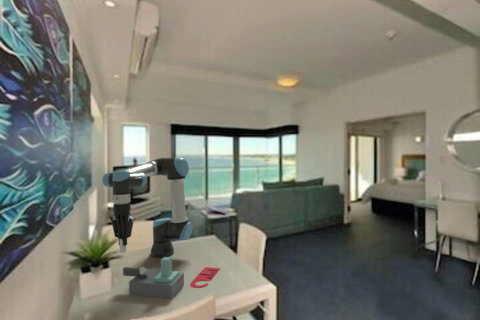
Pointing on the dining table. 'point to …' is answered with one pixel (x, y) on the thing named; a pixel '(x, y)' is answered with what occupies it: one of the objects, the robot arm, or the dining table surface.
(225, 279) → the dining table surface
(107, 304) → the dining table surface
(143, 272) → the grey lever handle
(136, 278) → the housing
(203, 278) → the door hanger
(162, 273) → the cover
